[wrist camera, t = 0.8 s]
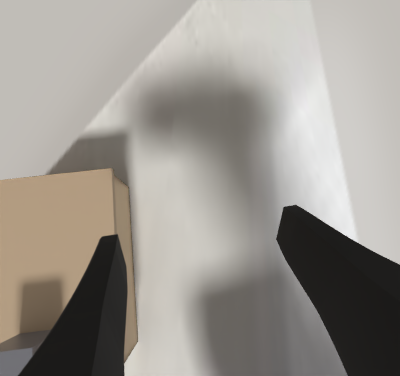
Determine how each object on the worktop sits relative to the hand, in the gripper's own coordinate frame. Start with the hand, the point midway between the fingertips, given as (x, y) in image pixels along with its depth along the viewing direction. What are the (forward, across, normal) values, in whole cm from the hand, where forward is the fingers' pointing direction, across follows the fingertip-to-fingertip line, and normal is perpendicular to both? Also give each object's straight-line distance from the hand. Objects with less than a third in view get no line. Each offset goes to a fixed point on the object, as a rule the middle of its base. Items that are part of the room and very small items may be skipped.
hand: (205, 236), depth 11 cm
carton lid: (+7, +10, +8) cm, 14 cm away
